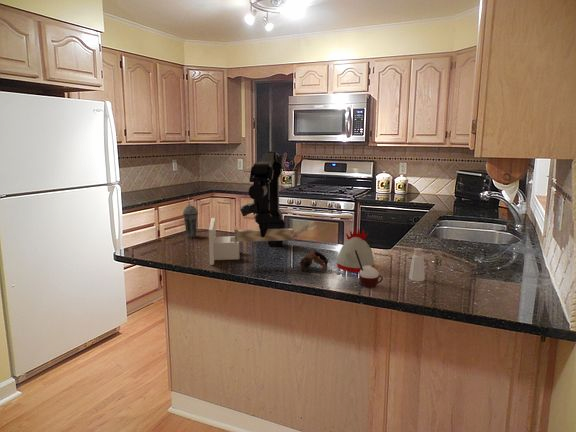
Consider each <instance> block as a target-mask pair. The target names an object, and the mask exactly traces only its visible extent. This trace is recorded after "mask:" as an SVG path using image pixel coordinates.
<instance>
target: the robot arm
mask: <svg viewBox="0 0 576 432" xmlns="http://www.w3.org/2000/svg"><path fill="white" fill-rule="evenodd" d="M283 159H284V158H283V157H282V156H280V155H279V154H278V153H277V151H275V150H271V151H270V150H269V151H268V150H266V151H264V153H263V156H262V158H261V160H260V161H255V162H254V163H253V165H252V166H251V168H250V174H249V183H253V184H252V185H251V186H249V189H248V196H249V197H250V198H251V199H252V200H253V202H250V203H246V204H244V205H242V206H240V207H239V210H240V212H241V213H240V214H241V215H242V217H247V216H248V215H250V214H252V215H253V219H254V222H255V223H256V224H258V227H259V228H258V229H260V233H261V237H264V236H265V234H266V232H267V229H287V226H286V222H285V219H284V215H283V214H282V212H281V210H280V177H281V175H282V173H283V170H284V167H285V165H284V160H283ZM283 242H284V240H279V241H266V243H267V245H268V247H283V246H284V243H283Z"/></svg>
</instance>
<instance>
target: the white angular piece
mask: <svg viewBox="0 0 576 432" xmlns="http://www.w3.org/2000/svg"><path fill="white" fill-rule="evenodd" d="M208 245H209V249H208V250H209V265H210V266H213V265H215V261H224V260H225V261H226V260H240V242H237V243H235V236H231V235H229V236H216V217H211V220H210V223H209V227H208Z"/></svg>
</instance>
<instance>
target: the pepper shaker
mask: <svg viewBox="0 0 576 432" xmlns="http://www.w3.org/2000/svg"><path fill="white" fill-rule="evenodd" d="M413 249H414V250H413V251H414V253H413V255H412V257H411V258H412V259H411V261H410V268H409V273H408V279H409V280H411V281H413V282H417V283H418V282H424V280H426V279H425V257H424V255H423V250H424V249H423V248H421V247H415V248H413Z"/></svg>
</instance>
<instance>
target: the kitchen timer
mask: <svg viewBox="0 0 576 432" xmlns="http://www.w3.org/2000/svg"><path fill="white" fill-rule="evenodd" d="M349 234H350V235H348V233H345V236H346V238H347V240H346V241H345V242H344V243H343V245H342V247H341V248H340V250H339V253H338V257H337V261H336V263H337V264H336V266H337V268H338V269H339V270H341V271H346V272H350V273H351V272H352V273H360V270H361V268H360V265H359V262H358V259H357V256H356V253H355V250H356V251H357V253H358V256H359V259H360V262H361V265H362V267H363V266H371V267H373V268H375V260H374V255H373V252H372V248H371V247H370V245H369V244H368V242H367V241H366V238H367V236H368V235H369V232H367V233H365V229H362V231H361V232H360V228H358V229H357V231H356V228H353V232H352V230H349Z"/></svg>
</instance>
